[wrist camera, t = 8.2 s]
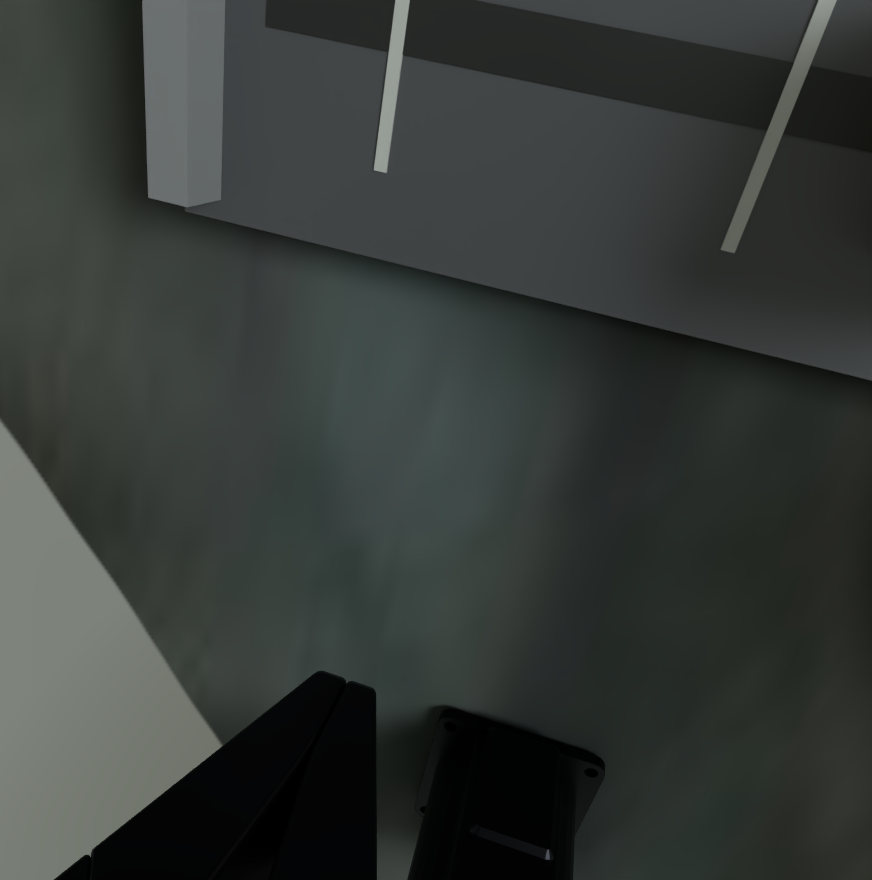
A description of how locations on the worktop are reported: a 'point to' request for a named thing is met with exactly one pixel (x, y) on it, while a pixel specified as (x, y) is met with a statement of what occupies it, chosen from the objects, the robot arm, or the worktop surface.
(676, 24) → the fader console
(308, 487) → the worktop surface
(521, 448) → the worktop surface
